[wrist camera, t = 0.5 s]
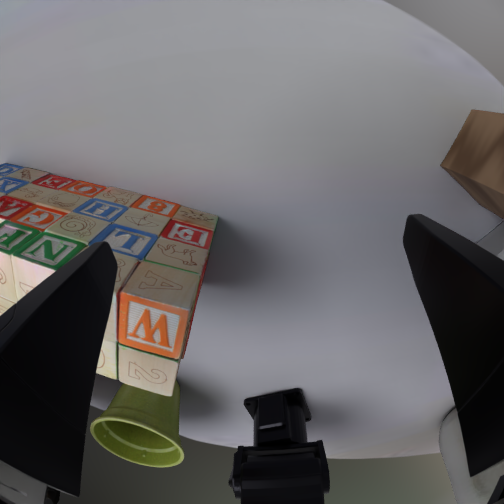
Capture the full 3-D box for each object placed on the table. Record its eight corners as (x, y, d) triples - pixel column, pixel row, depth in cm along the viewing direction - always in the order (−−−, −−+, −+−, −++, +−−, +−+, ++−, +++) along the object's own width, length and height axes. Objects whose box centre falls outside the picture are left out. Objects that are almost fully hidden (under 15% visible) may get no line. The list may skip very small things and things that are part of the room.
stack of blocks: (5, 222, 24) (-79, 283, 13) (5, 161, 21) (-94, 205, 10) (204, 283, 26) (172, 402, 15) (222, 214, 23) (190, 314, 12)
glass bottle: (494, 390, 34) (555, 523, 9) (454, 429, 38) (498, 557, 13) (462, 387, 33) (529, 549, 8) (418, 430, 37) (461, 580, 12)
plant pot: (158, 343, 29) (133, 412, 21) (212, 397, 32) (203, 462, 25) (100, 366, 31) (72, 424, 23) (152, 413, 35) (137, 469, 27)
